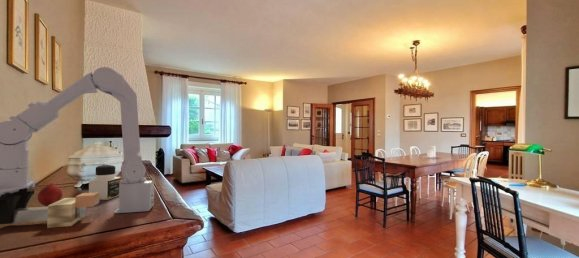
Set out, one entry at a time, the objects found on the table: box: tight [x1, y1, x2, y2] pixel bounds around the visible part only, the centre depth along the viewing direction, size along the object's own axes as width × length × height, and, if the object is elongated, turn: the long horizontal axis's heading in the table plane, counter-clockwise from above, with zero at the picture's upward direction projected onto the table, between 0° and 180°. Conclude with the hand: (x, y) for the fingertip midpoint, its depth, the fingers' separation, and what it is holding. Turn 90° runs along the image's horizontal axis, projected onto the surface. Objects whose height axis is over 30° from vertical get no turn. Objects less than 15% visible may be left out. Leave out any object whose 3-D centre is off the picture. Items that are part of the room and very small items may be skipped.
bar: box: [9, 206, 87, 225], centre depth 69 cm, size 15×3×3 cm, turn 107°
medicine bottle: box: [88, 164, 122, 201], centre depth 96 cm, size 7×7×12 cm
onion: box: [37, 181, 63, 207], centre depth 83 cm, size 6×6×8 cm
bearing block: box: [46, 197, 86, 229], centre depth 70 cm, size 5×8×6 cm, turn 17°
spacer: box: [74, 192, 100, 208], centre depth 71 cm, size 4×4×3 cm
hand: (11, 221), depth 66 cm, fingers closed on bar, 3 cm apart
